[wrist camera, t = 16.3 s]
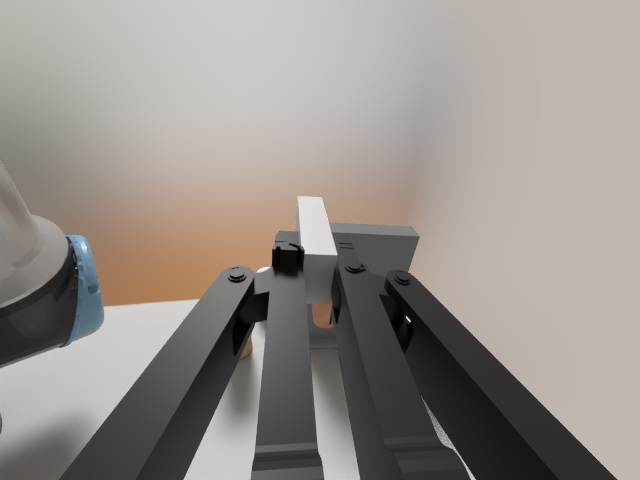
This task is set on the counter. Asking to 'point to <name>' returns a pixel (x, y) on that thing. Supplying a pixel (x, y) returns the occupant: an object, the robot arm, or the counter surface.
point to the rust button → (322, 314)
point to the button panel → (369, 262)
